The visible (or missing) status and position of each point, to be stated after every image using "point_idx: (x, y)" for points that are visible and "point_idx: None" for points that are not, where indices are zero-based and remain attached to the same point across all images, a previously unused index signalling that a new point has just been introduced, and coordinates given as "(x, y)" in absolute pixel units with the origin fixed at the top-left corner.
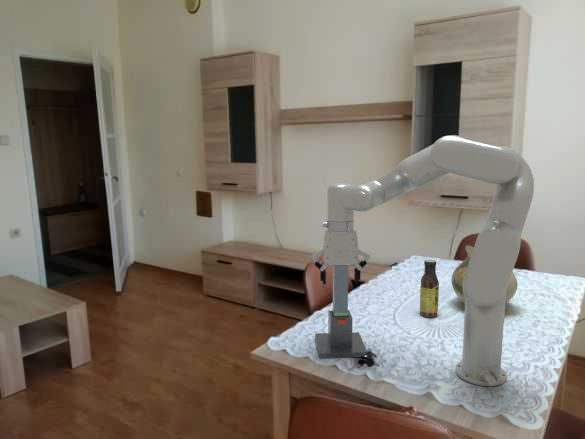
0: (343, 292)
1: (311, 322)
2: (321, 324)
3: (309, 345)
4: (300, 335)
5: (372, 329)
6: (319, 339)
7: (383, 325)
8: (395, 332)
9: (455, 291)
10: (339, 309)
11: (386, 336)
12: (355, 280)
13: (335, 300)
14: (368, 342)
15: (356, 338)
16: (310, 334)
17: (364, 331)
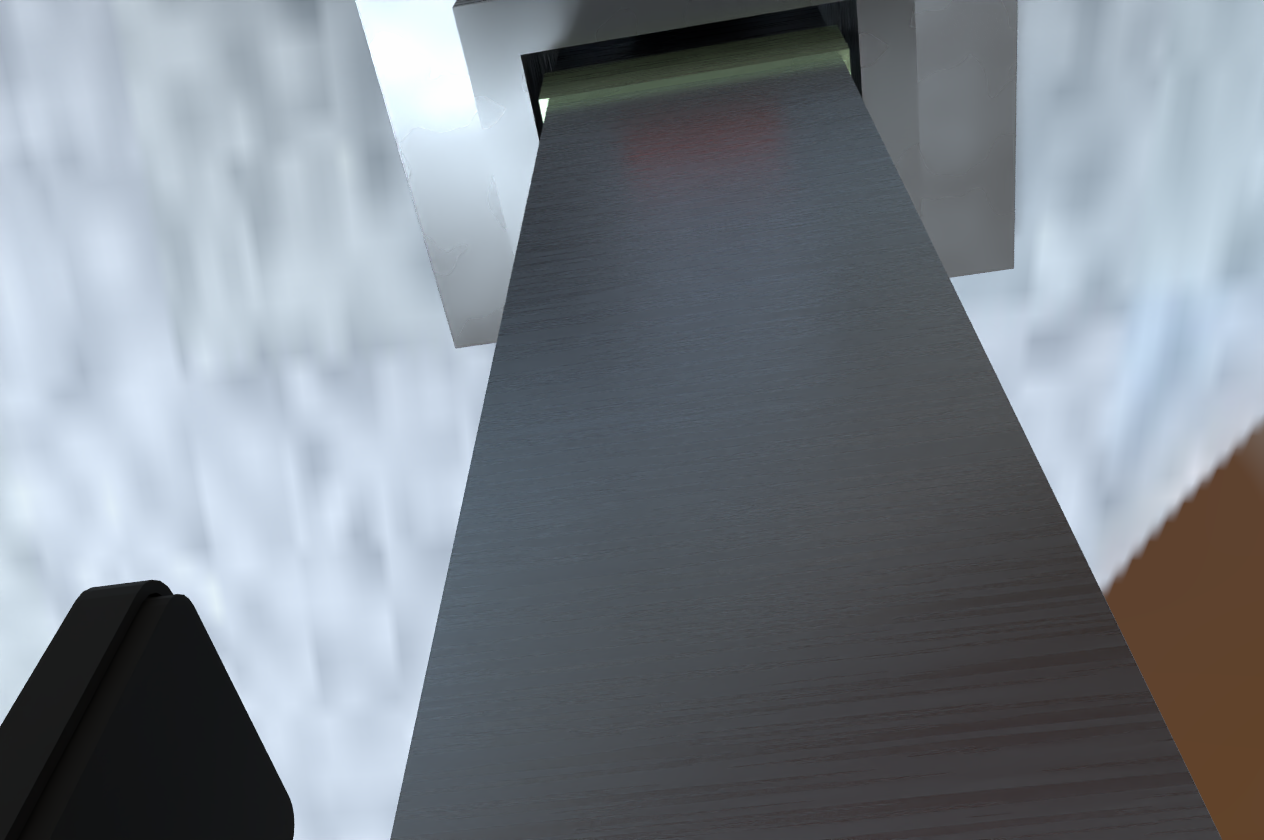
0: (641, 303)
1: None
2: None
3: (1095, 18)
4: (1173, 296)
5: (328, 509)
6: (971, 93)
7: (224, 603)
8: (67, 461)
9: None
10: (732, 102)
11: (146, 358)
12: (200, 725)
13: (861, 163)
14: (333, 182)
15: (472, 173)
16: (1045, 332)
17: (411, 457)
